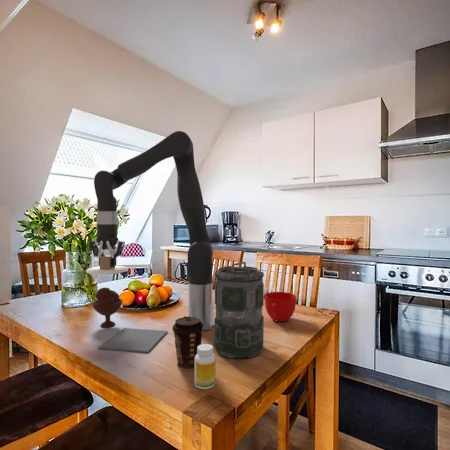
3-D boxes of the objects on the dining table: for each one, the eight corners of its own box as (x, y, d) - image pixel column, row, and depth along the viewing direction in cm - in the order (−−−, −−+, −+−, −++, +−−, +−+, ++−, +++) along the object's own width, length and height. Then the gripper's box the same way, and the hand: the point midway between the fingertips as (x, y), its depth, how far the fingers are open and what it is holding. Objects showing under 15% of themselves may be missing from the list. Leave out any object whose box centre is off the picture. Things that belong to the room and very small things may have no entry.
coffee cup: (189, 355, 93) (189, 313, 93) (209, 363, 88) (209, 319, 88) (167, 365, 86) (167, 320, 86) (187, 375, 81) (187, 327, 81)
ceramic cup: (256, 325, 119) (257, 299, 119) (269, 312, 135) (269, 290, 134) (289, 330, 114) (290, 304, 114) (298, 317, 129) (299, 293, 129)
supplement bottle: (191, 381, 78) (191, 344, 78) (210, 376, 81) (210, 341, 80) (199, 392, 74) (199, 353, 73) (218, 386, 76) (219, 349, 76)
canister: (231, 335, 109) (232, 257, 108) (271, 346, 100) (272, 261, 99) (204, 351, 96) (204, 263, 95) (247, 365, 87) (247, 268, 86)
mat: (167, 332, 111) (167, 330, 111) (148, 353, 94) (148, 351, 94) (124, 329, 114) (124, 327, 114) (98, 348, 97) (98, 347, 97)
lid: (134, 268, 124) (134, 254, 124) (115, 275, 109) (115, 259, 109) (100, 267, 126) (100, 253, 126) (77, 273, 112) (77, 258, 111)
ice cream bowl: (113, 331, 112) (112, 291, 112) (86, 329, 114) (86, 289, 114) (127, 321, 123) (127, 284, 122) (103, 319, 125) (102, 283, 124)
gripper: (129, 223, 120) (129, 266, 120) (96, 222, 122) (96, 265, 123) (119, 223, 112) (119, 269, 113) (84, 223, 115) (84, 268, 115)
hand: (107, 267), depth 118 cm, fingers closed on lid, 4 cm apart
